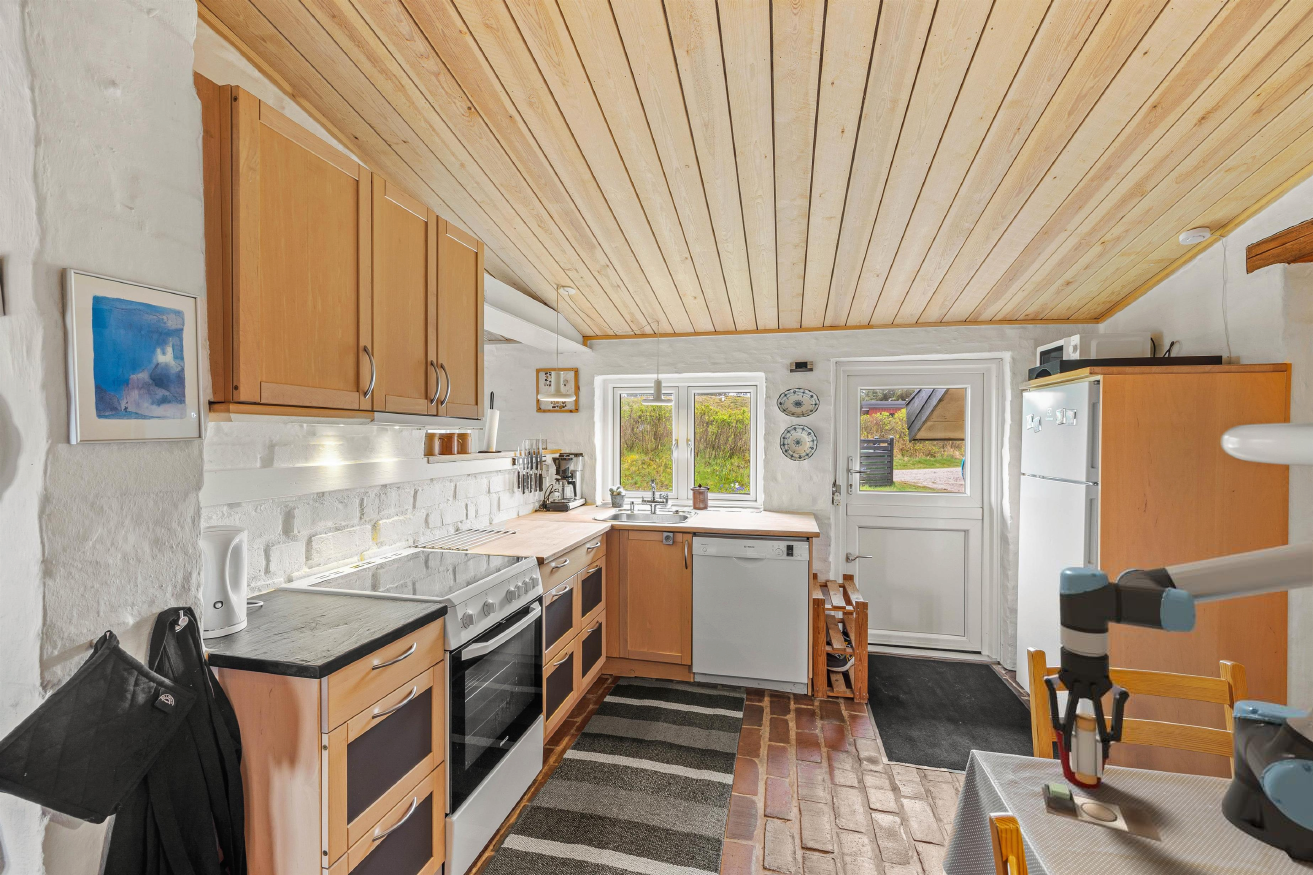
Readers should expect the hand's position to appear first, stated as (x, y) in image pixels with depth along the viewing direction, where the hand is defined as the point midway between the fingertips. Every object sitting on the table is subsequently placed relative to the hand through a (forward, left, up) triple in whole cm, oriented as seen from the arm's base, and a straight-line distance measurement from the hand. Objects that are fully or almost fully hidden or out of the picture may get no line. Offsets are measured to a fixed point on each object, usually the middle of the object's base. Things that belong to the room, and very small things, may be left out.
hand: (1085, 770), depth 110 cm
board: (-2, 0, -9) cm, 9 cm away
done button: (+4, 0, -7) cm, 8 cm away
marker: (0, 0, -2) cm, 2 cm away
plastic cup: (-1, -12, -9) cm, 15 cm away
